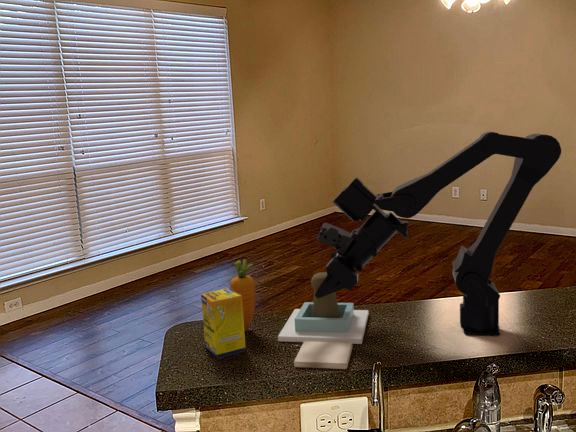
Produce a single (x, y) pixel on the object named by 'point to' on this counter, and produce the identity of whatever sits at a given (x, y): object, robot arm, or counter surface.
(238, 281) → the carrot
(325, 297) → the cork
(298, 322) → the housing
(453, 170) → the robot arm
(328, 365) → the pad
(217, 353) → the supplement box
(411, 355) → the counter surface
